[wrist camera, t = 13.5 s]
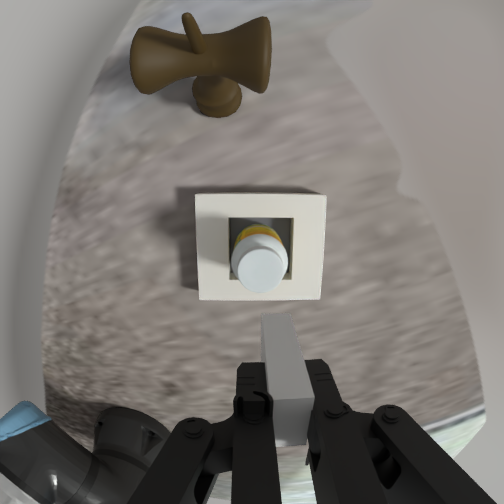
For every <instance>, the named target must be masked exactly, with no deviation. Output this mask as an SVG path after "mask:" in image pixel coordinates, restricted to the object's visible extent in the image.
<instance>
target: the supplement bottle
mask: <svg viewBox="0 0 504 504" xmlns="http://www.w3.org/2000/svg"><path fill="white" fill-rule="evenodd" d="M231 262H232V269H233V272H234V274H235V276H236V277H237V279H238V280H239V281H240V282H241V284H242V285H243V286H244V287H245V288H246V289H248V290H250V291H252V292H256V293H265V292H269V291H271V290H273V289H274V288H276V287H277V286H278V285H279V283H280V282H281V280H282V278H283V276H284V275H285V273H286V270H287V266H288V257H287V253H286V250H285V248H284V246H283V244H282V242H281V239H280V237H279V235H278V234H277V233H276V231H275V230H273V229H272V228H271V227H269V226H267V225H264V224H252V225H250V226H247V227H246V228H244V229H243V230H242V231H241V232H240V233H239V235H238V236H237V238H236V242H235V246H234V250H233V254H232V259H231Z"/></svg>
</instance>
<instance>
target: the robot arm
mask: <svg viewBox="0 0 504 504" xmlns="http://www.w3.org/2000/svg"><path fill="white" fill-rule="evenodd" d="M233 407H234V413H233V415H232V416H231V417H230V418H228V419H226V420H225V421H222V422H218V423H213V424H210V423H209V422H208V421H207V420H204V419H202V418H195V417H192V418H186V419H184V420H182V421H180V422H179V423H178V424H177V425H176V426H175V428H174V429H173V431H172V433H170V432H169V431H168V430H167V429H166V428H165V427H164V426H163V425H162V424H161V423H159V422H158V421H156V420H155V419H153V418H151V417H149V416H147V415H145V414H143V413H141V412H138V411H135V410H131V409H126V408H109V409H106V410H104V411H103V412H102V413H101V414H100V415H99V417H98V419H97V421H96V423H95V429H94V447H93V452H92V453H91V452H90V451H88V450H87V449H86V448H84V447H83V446H82V445H81V444H79V443H78V442H77V441H75V440H74V439H73V438H72V437H71V436H69V435H68V434H67V433H66V432H65V431H63V430H62V429H61V428H60V427H59V426H58V425H57V424H55V423H54V422H53V421H52V420H51V417H49V416H47V415H45V414H44V413H43V412H42V411H41V410H40V409H39V408H37V407H36V406H35V405H34V404H33V403H31V402H28V401H22V402H20V403H18V404H17V405H16V406H15V407H14V408H12V409H11V410H10V411H9V412H8V413H7V414H5V416H3V417H2V418H1V419H0V504H206V503H207V501H208V499H209V496H210V494H211V492H212V489H213V487H214V484H215V482H216V480H217V477H218V475H219V473H223V472H227V471H232V490H231V504H282V501H281V491H280V482H279V472H278V463H277V453H276V447H282V446H297V445H306V442H307V438H308V443H309V449H308V453H307V458H306V464H305V465H308V464H310V469H311V475H312V480H313V485H314V490H315V496H316V501H317V504H497V503H496V502H495V501H494V500H493V499H492V498H491V497H490V496H488V494H487V493H486V492H485V491H484V490H483V489H482V488H481V487H480V486H479V485H478V484H477V483H476V482H475V481H474V480H473V479H472V478H471V477H470V476H469V475H468V474H467V473H466V472H465V471H464V470H463V469H462V468H461V467H460V466H459V465H458V464H457V463H456V462H455V461H454V460H453V459H452V458H451V457H450V456H449V455H448V454H447V453H446V452H445V451H444V450H443V449H442V448H441V447H440V446H439V445H438V444H437V443H436V442H435V441H434V440H433V439H432V438H431V437H430V436H429V435H428V434H427V433H426V432H425V431H424V430H423V429H422V428H421V427H420V426H419V425H418V424H417V423H416V422H415V421H414V419H413V418H412V417H411V416H410V415H409V414H408V413H407V412H406V411H405V410H403V409H402V408H400V407H398V406H395V405H383V406H380V407H379V408H377V409H376V411H375V412H374V414H371V413H360V412H356V411H353V410H352V409H351V408H350V406H349V405H348V404H346V403H344V402H343V401H342V399H341V396H340V394H339V391H338V389H337V386H336V384H335V381H334V379H333V376H332V374H331V371H330V368H329V366H328V365H327V364H326V363H325V362H324V361H323V360H322V359H314V360H304V358H303V355H302V351H301V348H300V344H299V341H298V337H297V334H296V331H295V327H294V324H293V320H292V317H291V314H290V313H269V314H262V315H261V362H251V363H241V365H240V366H239V367H238V369H237V382H236V396H235V397H234V400H233Z"/></svg>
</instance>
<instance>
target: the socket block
mask: <svg viewBox="0 0 504 504" xmlns="http://www.w3.org/2000/svg"><path fill="white" fill-rule="evenodd" d="M195 213H196V243H197V265H198V284H199V300H313V299H320V294H321V282H322V270H323V256H324V240H325V221H326V195H324V194H314V193H266V192H227V193H198V194H195ZM290 218H291V225H290ZM252 224H264V225H267V226H269V227H271V228H272V229H273V230H275V231H276V233H277V234H278V235H279V237H280V239H281V242H282V244H283V246H284V248H285V250H286V253H287V257H288V266H287V270H286V273H285V275H284V276H283V278H282V280H281V282H280V283H279V285H278V286H277V287H276V288H274V289H273V290H271V291H269V292H265V293H256V292H252V291H250V290H248V289H246V288H245V287H244V286H243V285H242V284H241V282H240V281H239V280H238V279H237V277H236V276H235V274H234V272H233V269H232V262H231V273H230V233H231V259H232V254H233V250H234V246H235V242H236V238H237V236H238V235H239V233H240V232H241V231H242V230H243V229H244V228H246V227H247V226H250V225H252ZM289 242H290V256H289ZM288 269H289V273H288Z"/></svg>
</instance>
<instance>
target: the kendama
mask: <svg viewBox="0 0 504 504" xmlns="http://www.w3.org/2000/svg"><path fill="white" fill-rule="evenodd" d="M182 23H183V26H184V30H185V32H186V35H185V34H178V33H174V32H170V31H167V30H163V29H160V28H156V27H152V26H145V27H141V28H139V29H138V30H137V32H136V34H135V36H134V38H133V40H132V44H131V49H130V71H131V76H132V79H133V82H134V85H135V86H136V88H137V89H138V90H139V91H140V93H143V94H148V95H149V94H152V93H154V92H156V91H158V90H160V89H162V88H164V87H165V86H167V85H169V84H171V83H173V82H175V81H177V80H180V79H183V78H187V77H194V76H197V77H196V79H195V80H194V83H193V87H192V90H193V96H194V97H195V99H196V101H197V106H198V108H199V109H200V111H201V112H202V113H203V114H205V115H207V116H209V117H215V118H221V117H227V116H229V115H231V114H233V113H235V112H236V110H237V109H238V108H239V106H240V104H241V99H242V93H241V88H240V87H239V85H238V83H239V84H241V85H243V86H245V87H247V88H249V89H250V90H252V91H254V92H257V93H259V94H260V93H264V92H265V90H266V89H267V86H268V82H269V76H270V67H271V53H272V42H271V27H270V22H269V20H268V18H267V17H263V16H262V17H258V18H256V19H253V20H251V21H249V22H247V23H244V24H242V25H240V26H238V27H236V28H234V29H231V30H229V31H226V32H222V33H215V34H201V31H200V29H199V27H198V25H197V23H196V21H195V19H194V17H193V16H192V14H190V13H184V14H183V15H182Z"/></svg>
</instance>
